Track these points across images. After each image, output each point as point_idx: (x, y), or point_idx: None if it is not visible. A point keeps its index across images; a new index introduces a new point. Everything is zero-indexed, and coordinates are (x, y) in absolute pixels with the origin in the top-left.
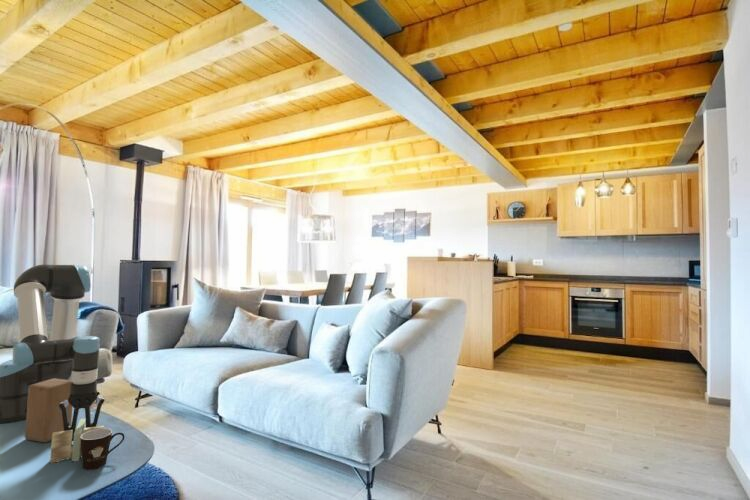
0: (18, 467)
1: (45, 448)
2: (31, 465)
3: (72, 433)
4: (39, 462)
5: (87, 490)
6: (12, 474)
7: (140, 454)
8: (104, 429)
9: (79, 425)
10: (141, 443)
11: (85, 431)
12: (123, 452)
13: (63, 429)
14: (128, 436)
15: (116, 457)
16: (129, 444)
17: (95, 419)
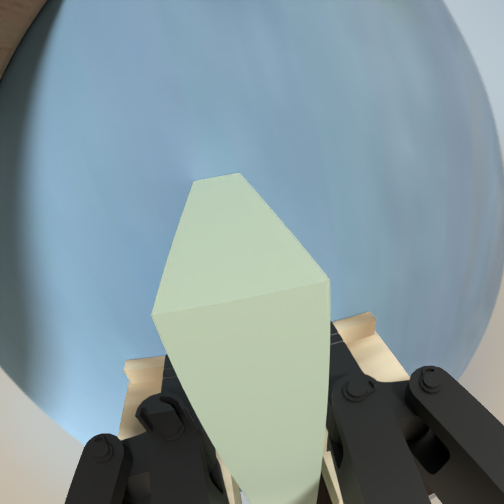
0: (47, 393)
1: (9, 215)
2: (81, 395)
3: (234, 496)
4: (93, 382)
5: None
6: (73, 428)
7: (466, 351)
8: (428, 492)
9: (272, 500)
10: (495, 261)
11: (334, 499)
12: (437, 338)
13: (15, 3)
14: (473, 148)
15: (410, 373)
16: (469, 262)
17: (443, 478)
